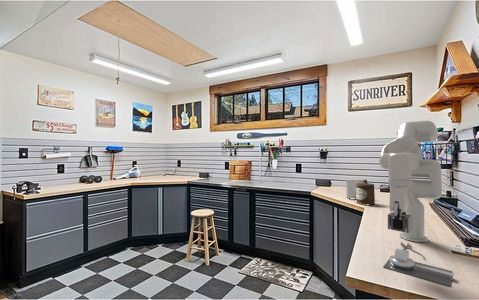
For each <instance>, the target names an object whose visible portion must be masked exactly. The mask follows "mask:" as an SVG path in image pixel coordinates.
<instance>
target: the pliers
mask: <svg viewBox="0 0 479 300" xmlns="http://www.w3.org/2000/svg"><path fill="white" fill-rule="evenodd" d="M406 244H407V245H405V243H403V241H401V242H400V246H401V247H402V248H401V249H402V250H406V251H407V249H408V251H411V252H413V253H414V254H417V255H419V256H421V258H422V259H423V261H426V257H425V256H424V255H423V254H422V253H420V252H418V251H416V250H414V249H413V248H412V245H411V244H410V243H408V242H406Z"/></svg>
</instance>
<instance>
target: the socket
mask: <svg viewBox="0 0 479 300" xmlns="http://www.w3.org/2000/svg"><path fill="white" fill-rule="evenodd" d="M399 216H400V214H399ZM402 220H403V229H402V230H399V229H394V228H393V211H390V213H388V214H387V230H391V231H396V232H399V233H402V232H406V233H409V232H410V231H411V230H412V215H410V214H403V213H402Z"/></svg>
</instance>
